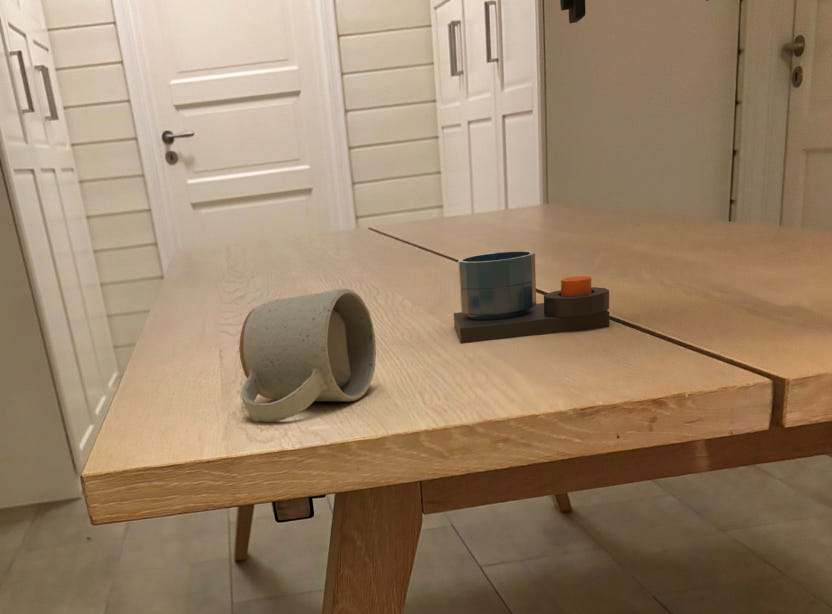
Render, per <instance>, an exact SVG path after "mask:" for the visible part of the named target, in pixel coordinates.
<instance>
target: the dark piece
mask: <svg viewBox="0 0 832 614" xmlns="http://www.w3.org/2000/svg"><path fill="white" fill-rule="evenodd" d="M609 309H610V290H609V289H608V288H606V287H596V286H595V287H594V286H591V293H590V294H585V295H576V296H561V289H559V290H554V291H551V292H548V293H545V294H544V295H543V302H540V303H536V305H535V306H534V307H532V308H531V311H530V312H529V313H527V314H524V315H521V316H516V317H511V318H504V319H493V320H475V319H469V318H467V314H464V313H462V311H460V312H454V313H453V325H454V329H455V332H456V335H457V338H458V341H459V342H460V343H459V344H461V345H462V344H470V343H478V342H479V343H480V342H489V341H497V340H506V339H507V340H508V339H516V338H524V337H525V338H526V337H535V336H543V335H552V334H561V333H570V332H578V331H586V330H587V331H589V330H597V329H605V328H610V311H609Z"/></svg>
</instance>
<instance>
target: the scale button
mask: <svg viewBox="0 0 832 614" xmlns="http://www.w3.org/2000/svg"><path fill="white" fill-rule="evenodd" d="M591 287H592V276H589V275H579V276H577V275H576V276H571V277H564V278H561V280H560V290H561V296H576V295H585V294H590V293H591Z"/></svg>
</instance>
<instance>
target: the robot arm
mask: <svg viewBox="0 0 832 614" xmlns="http://www.w3.org/2000/svg"><path fill="white" fill-rule="evenodd" d="M705 1H706V2H707V1H709V0H705ZM559 2H560V10H561V11H568V23H569V24H575V23H578V22H580V20H582V19H583V18H584V17H586V12H587V11H586V0H559Z"/></svg>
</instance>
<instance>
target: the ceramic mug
mask: <svg viewBox="0 0 832 614" xmlns="http://www.w3.org/2000/svg"><path fill="white" fill-rule="evenodd" d="M375 334H376V333H375V330H374V324H373V321H372V317H371V314H370V311H369V308H368V307H367V304H366V303H365V301H364V299H363V298H362V296H360V295H359V293H357V292H356V291H354V290H352V289H349V288H338V289H334V290H328V291H322V292H317V293H311V294H304V295H299V296H293V297H292V296H291V297H285V298H278V299H272V300H270V301H267V302H264V303H261V304H260V305H258V306H256V307H254V308H253V309H251V311H250V312H248V314H247V315H246V317H245V319H244V321H243V323H242V327H241V330H240V335H239V346H238V347H239V348H238V349H239V350H238V351H239V360H240V364H241V367H242V370H243V374H244V376H245V377H246V380H245V381H244V383H243V385H242V387H241V391H240V396H241V400H242V404H243V406H244V407H245V409H246V411H247V413H248V414H249V416H250V417H252V418H253V419H254V420H256V421H260V422H264V423H276V422H280V421H284V420H287V419H290V418H292V417H294V416H296V415H298V414H300V413H302V412H303V411H305V410H307V408H309V407H310V406H311V405H312V404H313V403H314V402H341V403H342V402H343V403H345V402H347V403H348V402H356V401H357V400H359V399H361V398H362V397H363V396H364V395H365V394H367V392H368V390H369V388H370V386H371V383H372V381H373V378H374V375H375V369H376V359H377V358H376V357H377V348H376V347H377V345H376V344H377V343H376V335H375ZM258 395H259V396H261V397H263V398H266V399H269V400H273V401H272V402H271V401H270V402H262V403H260V402H259V403H257V402H255V400H256V398H257V396H258Z"/></svg>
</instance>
